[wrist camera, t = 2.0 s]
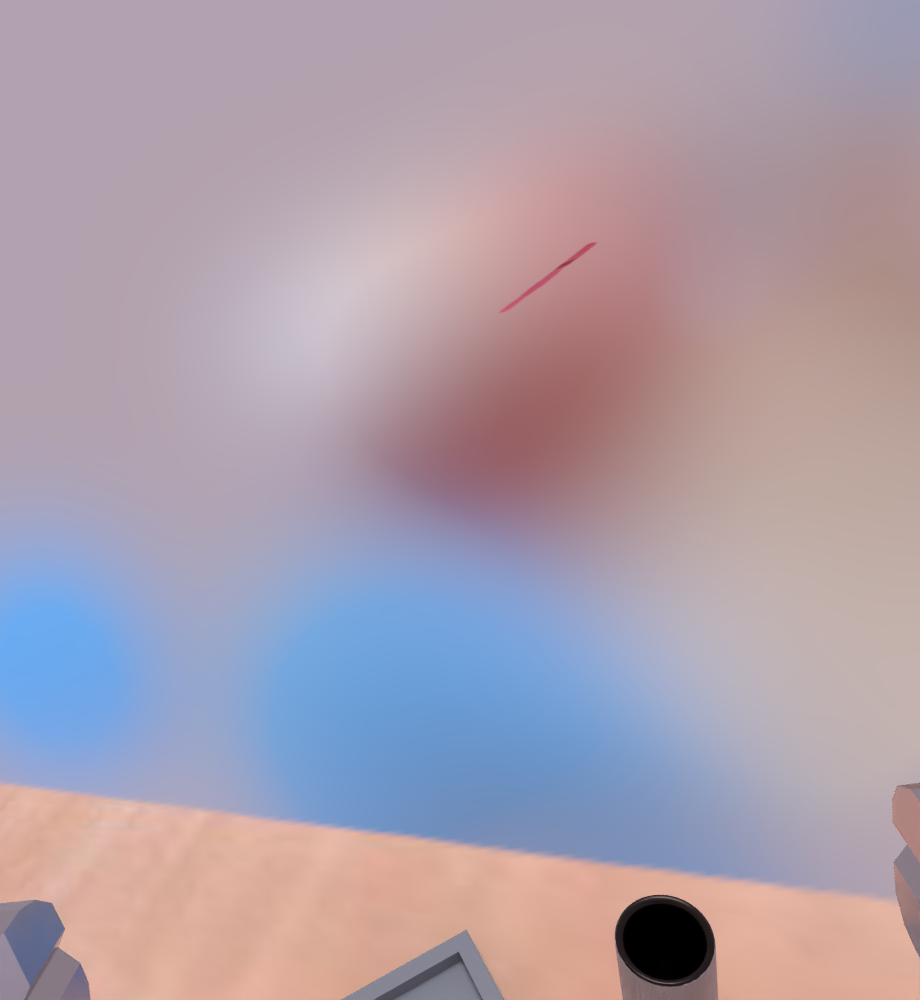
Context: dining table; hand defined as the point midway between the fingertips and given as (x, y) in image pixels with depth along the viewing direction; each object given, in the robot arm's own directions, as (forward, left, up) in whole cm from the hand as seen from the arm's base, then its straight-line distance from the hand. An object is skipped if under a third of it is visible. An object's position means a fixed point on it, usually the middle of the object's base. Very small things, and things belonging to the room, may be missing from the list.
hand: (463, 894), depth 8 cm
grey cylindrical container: (+12, +15, -40) cm, 44 cm away
